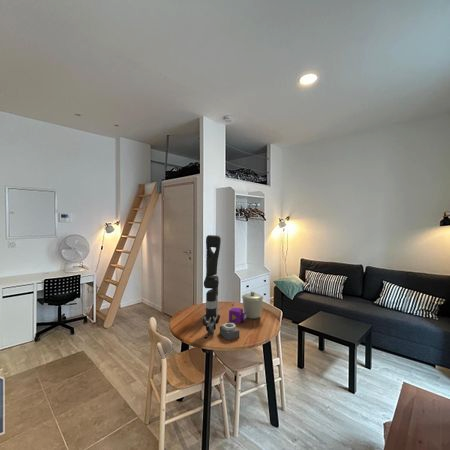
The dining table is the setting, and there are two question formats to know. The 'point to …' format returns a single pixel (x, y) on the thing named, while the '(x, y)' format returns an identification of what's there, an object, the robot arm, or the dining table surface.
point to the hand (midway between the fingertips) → (210, 330)
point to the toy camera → (236, 315)
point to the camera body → (229, 331)
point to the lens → (211, 327)
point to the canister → (252, 305)
